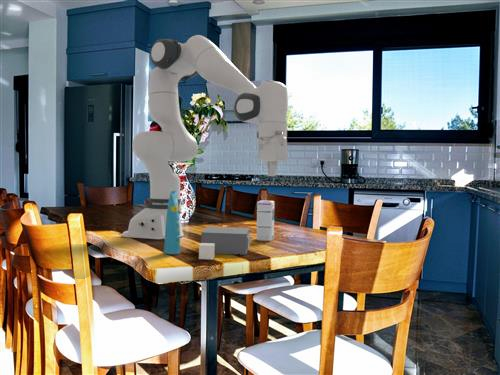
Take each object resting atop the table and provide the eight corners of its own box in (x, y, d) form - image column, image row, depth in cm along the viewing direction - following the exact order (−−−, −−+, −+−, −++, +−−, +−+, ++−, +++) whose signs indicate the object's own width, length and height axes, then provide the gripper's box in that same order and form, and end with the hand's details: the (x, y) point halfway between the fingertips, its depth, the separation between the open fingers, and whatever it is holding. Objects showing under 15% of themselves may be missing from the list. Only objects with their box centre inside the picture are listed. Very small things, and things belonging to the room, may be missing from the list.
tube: (178, 255, 135) (180, 191, 134) (162, 255, 135) (163, 190, 134) (181, 251, 143) (182, 189, 142) (165, 250, 142) (166, 189, 141)
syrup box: (271, 241, 167) (273, 201, 166) (255, 240, 168) (257, 201, 167) (274, 238, 172) (275, 200, 171) (258, 238, 173) (259, 200, 173)
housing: (200, 253, 140) (201, 232, 140) (207, 245, 154) (208, 226, 154) (246, 254, 139) (246, 234, 139) (248, 246, 153) (249, 228, 153)
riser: (198, 259, 131) (199, 245, 131) (201, 256, 135) (201, 242, 135) (212, 259, 131) (213, 245, 131) (214, 256, 135) (214, 243, 135)
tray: (206, 248, 141) (206, 236, 141) (211, 242, 153) (211, 231, 152) (248, 249, 141) (248, 237, 140) (250, 243, 152) (250, 232, 152)
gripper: (293, 130, 135) (291, 177, 135) (273, 134, 155) (272, 175, 155) (272, 129, 133) (271, 176, 134) (255, 134, 153) (254, 175, 154)
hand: (271, 176), depth 145 cm, fingers closed
